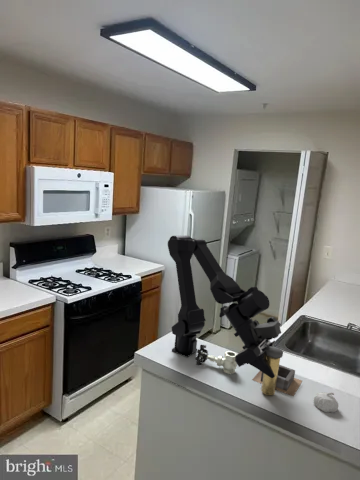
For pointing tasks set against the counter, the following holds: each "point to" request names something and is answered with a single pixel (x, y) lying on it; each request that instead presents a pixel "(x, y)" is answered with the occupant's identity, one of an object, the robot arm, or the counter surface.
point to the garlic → (326, 402)
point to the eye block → (283, 380)
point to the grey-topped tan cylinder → (273, 359)
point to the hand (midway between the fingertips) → (275, 374)
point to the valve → (218, 359)
